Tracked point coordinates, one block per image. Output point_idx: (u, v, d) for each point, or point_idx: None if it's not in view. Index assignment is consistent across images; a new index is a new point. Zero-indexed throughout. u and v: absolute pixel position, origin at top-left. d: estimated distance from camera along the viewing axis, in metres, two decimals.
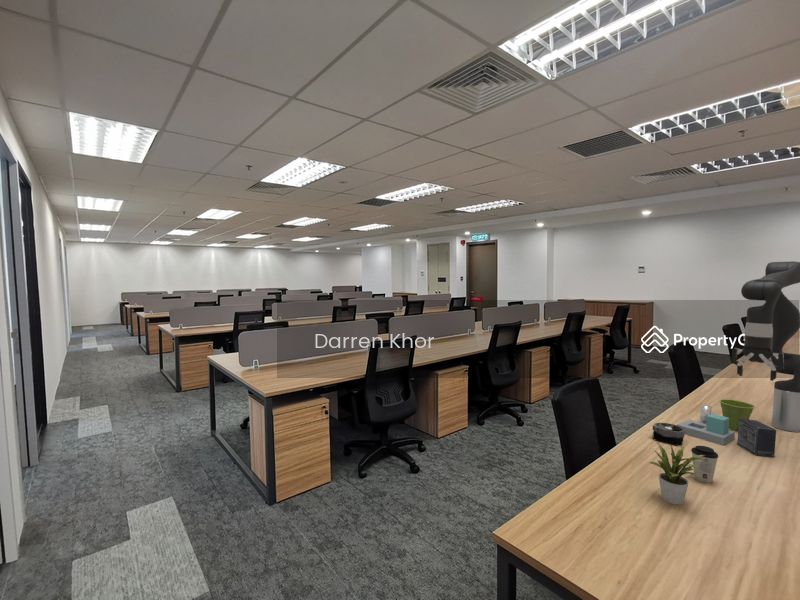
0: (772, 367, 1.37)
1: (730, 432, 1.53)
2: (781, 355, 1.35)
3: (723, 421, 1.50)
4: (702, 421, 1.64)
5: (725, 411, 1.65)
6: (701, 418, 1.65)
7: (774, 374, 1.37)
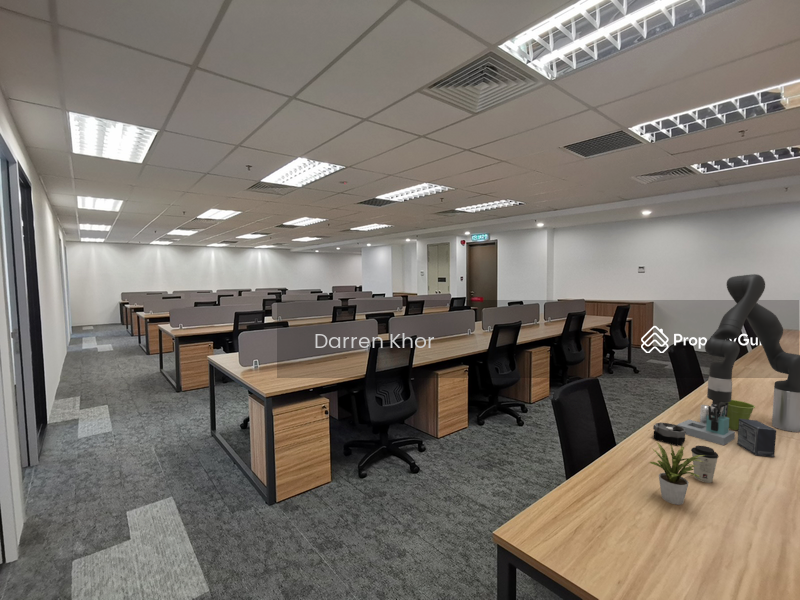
0: (724, 416, 1.54)
1: (730, 432, 1.53)
2: None
3: (723, 421, 1.50)
4: (702, 421, 1.64)
5: None
6: (701, 418, 1.65)
7: None
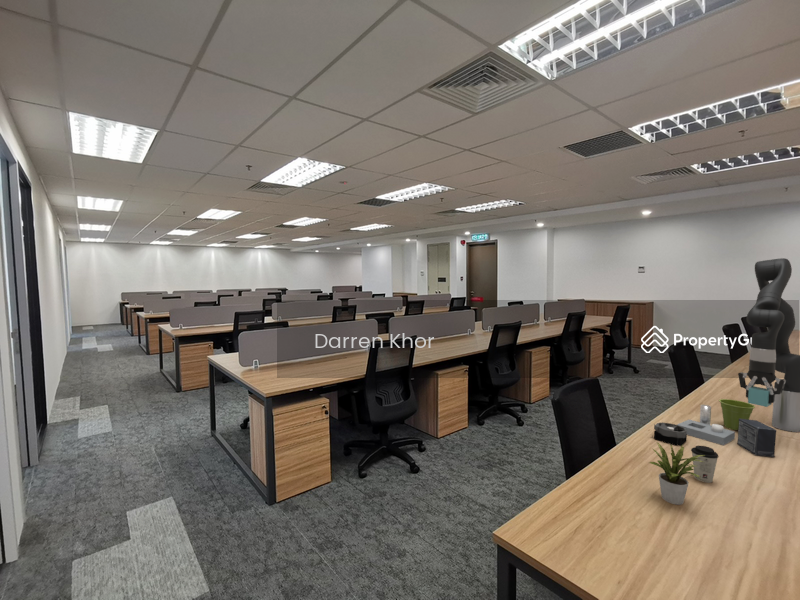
0: None
1: (730, 432, 1.53)
2: None
3: None
4: (702, 421, 1.64)
5: (725, 411, 1.65)
6: (701, 418, 1.65)
7: None
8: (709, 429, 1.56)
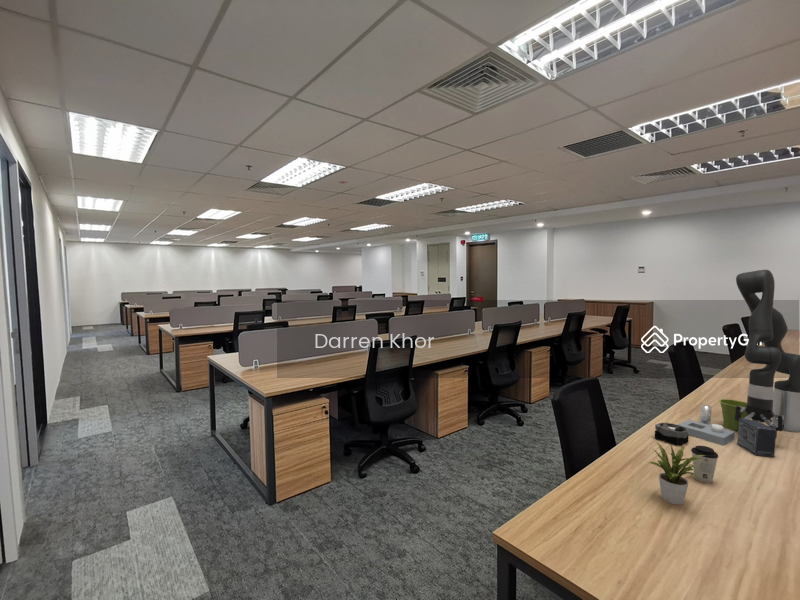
0: None
1: (730, 432, 1.53)
2: None
3: None
4: (702, 421, 1.64)
5: (725, 411, 1.65)
6: (701, 418, 1.65)
7: None
8: (709, 429, 1.56)
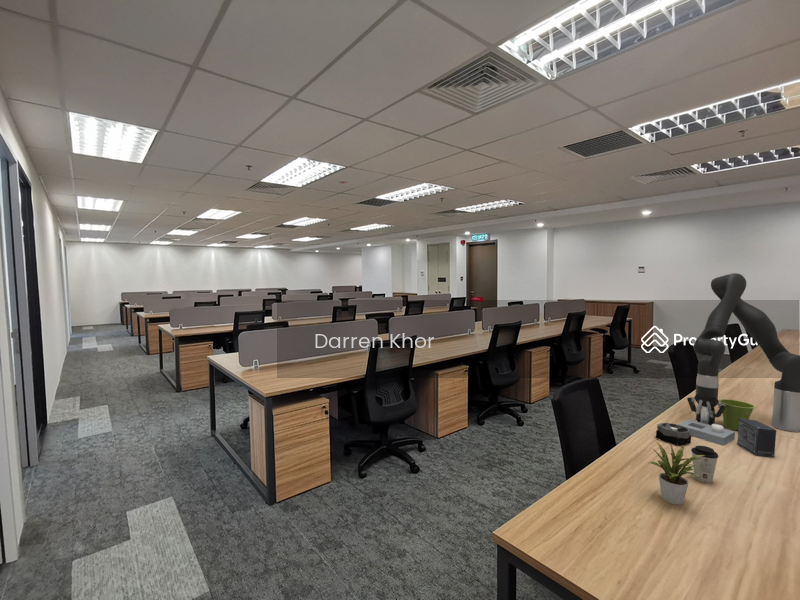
0: None
1: (730, 432, 1.53)
2: None
3: None
4: (702, 421, 1.64)
5: (725, 411, 1.65)
6: (701, 418, 1.65)
7: None
8: (709, 429, 1.56)
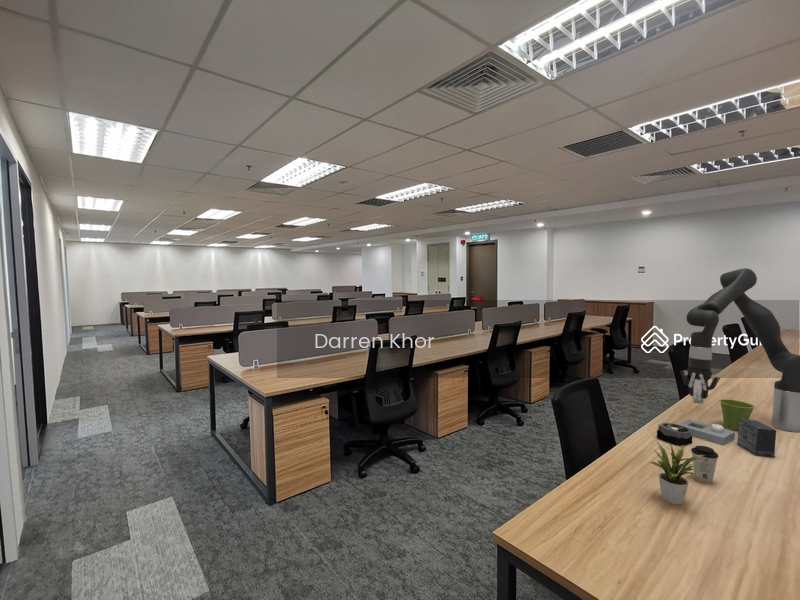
0: None
1: (730, 432, 1.53)
2: None
3: None
4: (695, 394, 1.59)
5: (725, 411, 1.65)
6: (694, 391, 1.59)
7: None
8: (709, 429, 1.56)
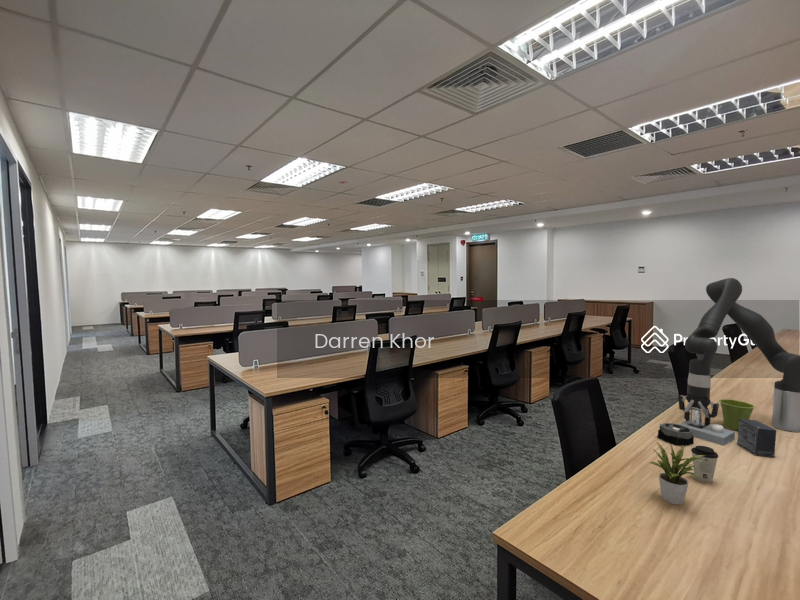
0: None
1: (730, 432, 1.53)
2: None
3: None
4: (693, 425, 1.59)
5: (725, 411, 1.65)
6: (692, 422, 1.60)
7: None
8: (709, 429, 1.56)
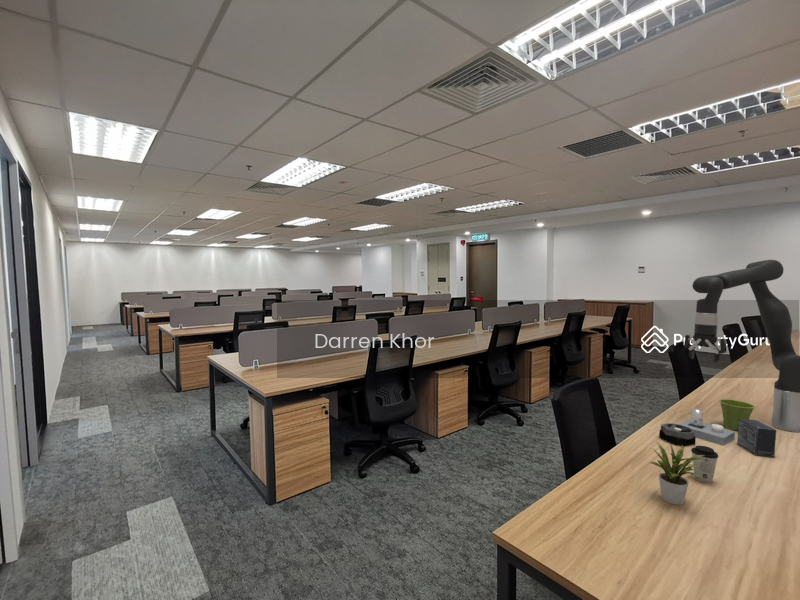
0: None
1: (730, 432, 1.53)
2: None
3: None
4: (694, 425, 1.59)
5: (725, 411, 1.65)
6: (693, 422, 1.60)
7: None
8: (709, 429, 1.56)
